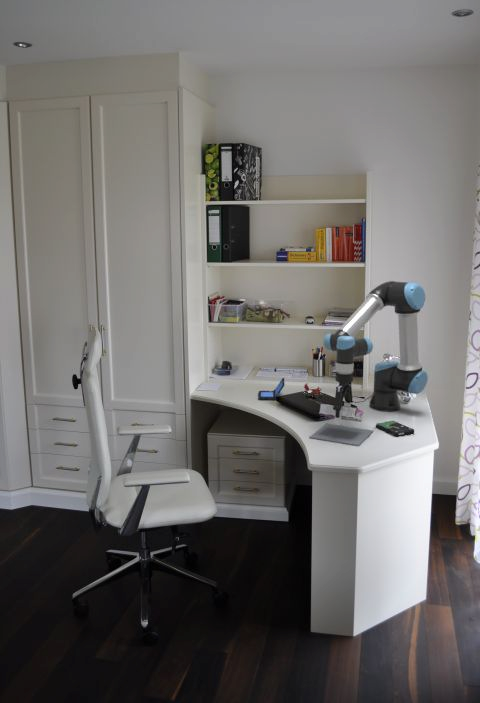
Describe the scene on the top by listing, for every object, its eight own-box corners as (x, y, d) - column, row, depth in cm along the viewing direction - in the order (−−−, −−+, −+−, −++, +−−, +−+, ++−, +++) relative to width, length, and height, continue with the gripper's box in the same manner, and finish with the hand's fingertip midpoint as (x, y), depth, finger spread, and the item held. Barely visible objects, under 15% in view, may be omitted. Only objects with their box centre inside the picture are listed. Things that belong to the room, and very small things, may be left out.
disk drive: (414, 435, 298) (393, 425, 311) (415, 429, 297) (393, 420, 310) (395, 438, 293) (374, 428, 306) (396, 432, 292) (375, 422, 305)
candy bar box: (328, 406, 303) (363, 411, 295) (326, 417, 302) (361, 422, 295) (320, 402, 293) (357, 407, 286) (318, 413, 292) (355, 419, 285)
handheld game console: (258, 393, 365) (259, 376, 363) (283, 393, 364) (284, 377, 362) (258, 400, 349) (258, 383, 347) (284, 401, 349) (284, 384, 347)
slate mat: (326, 424, 310) (326, 423, 310) (373, 431, 300) (373, 430, 300) (309, 438, 291) (309, 436, 290) (358, 446, 281) (358, 445, 281)
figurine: (330, 400, 351) (330, 388, 349) (310, 402, 346) (310, 389, 345) (316, 393, 364) (317, 381, 363) (297, 395, 360) (297, 383, 359)
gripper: (344, 366, 302) (342, 412, 306) (326, 376, 281) (324, 426, 285) (361, 367, 299) (358, 414, 303) (344, 379, 278) (341, 429, 282)
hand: (342, 420), depth 294 cm, fingers closed on candy bar box, 12 cm apart
